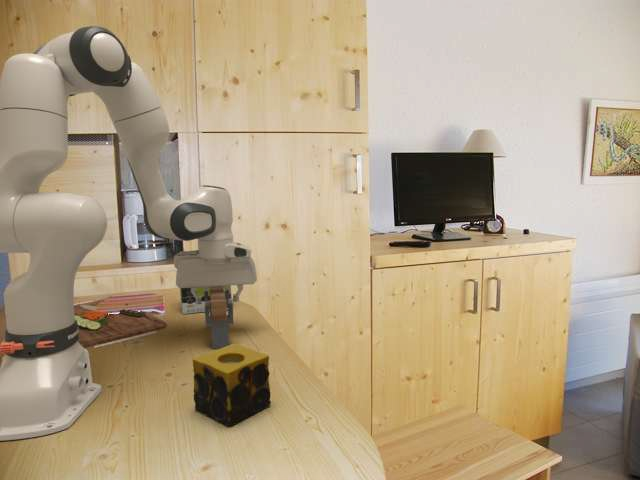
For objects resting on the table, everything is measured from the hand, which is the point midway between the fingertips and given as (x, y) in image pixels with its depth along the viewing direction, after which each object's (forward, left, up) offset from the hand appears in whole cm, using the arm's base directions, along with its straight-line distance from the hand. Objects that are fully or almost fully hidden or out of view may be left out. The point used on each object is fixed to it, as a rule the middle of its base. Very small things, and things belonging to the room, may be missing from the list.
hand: (217, 302), depth 125 cm
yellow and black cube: (-40, -1, -9) cm, 41 cm away
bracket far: (+7, 0, -9) cm, 11 cm away
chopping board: (+22, +34, -10) cm, 42 cm away
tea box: (+28, +3, -9) cm, 30 cm away
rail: (0, 0, -2) cm, 2 cm away
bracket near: (-7, 0, -9) cm, 11 cm away
